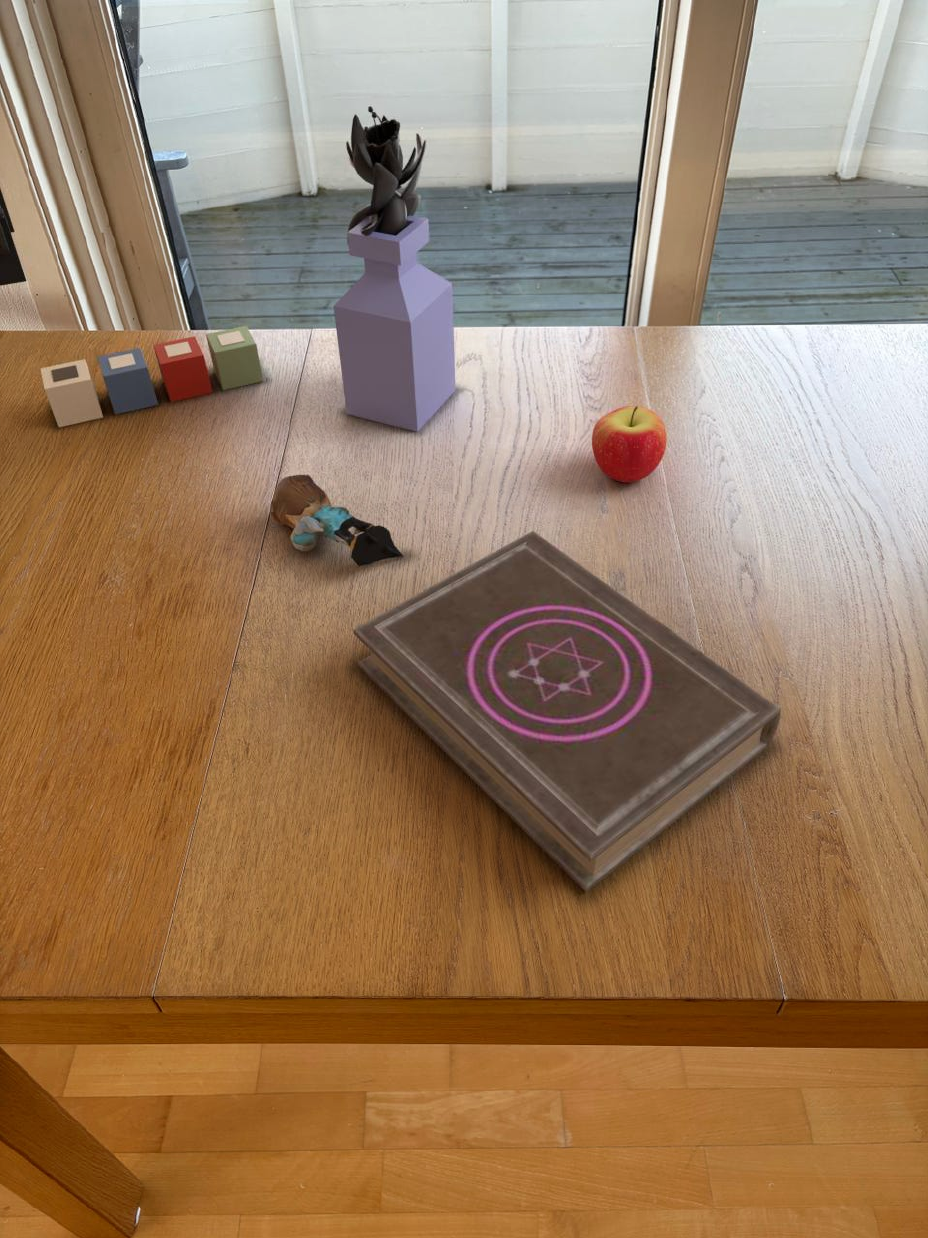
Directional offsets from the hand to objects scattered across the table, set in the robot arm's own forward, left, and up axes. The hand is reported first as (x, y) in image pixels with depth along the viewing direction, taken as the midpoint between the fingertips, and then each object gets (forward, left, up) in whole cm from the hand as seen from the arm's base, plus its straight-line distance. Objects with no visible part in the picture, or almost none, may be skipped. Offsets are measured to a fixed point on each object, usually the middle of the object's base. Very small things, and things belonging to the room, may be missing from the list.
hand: (6, 256), depth 101 cm
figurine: (+23, -32, -24) cm, 46 cm away
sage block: (+22, +7, -23) cm, 33 cm away
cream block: (+1, +7, -23) cm, 25 cm away
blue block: (+8, +7, -23) cm, 26 cm away
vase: (+40, -8, -24) cm, 47 cm away
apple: (+58, -34, -24) cm, 71 cm away
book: (+35, -62, -24) cm, 75 cm away
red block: (+15, +7, -23) cm, 29 cm away
